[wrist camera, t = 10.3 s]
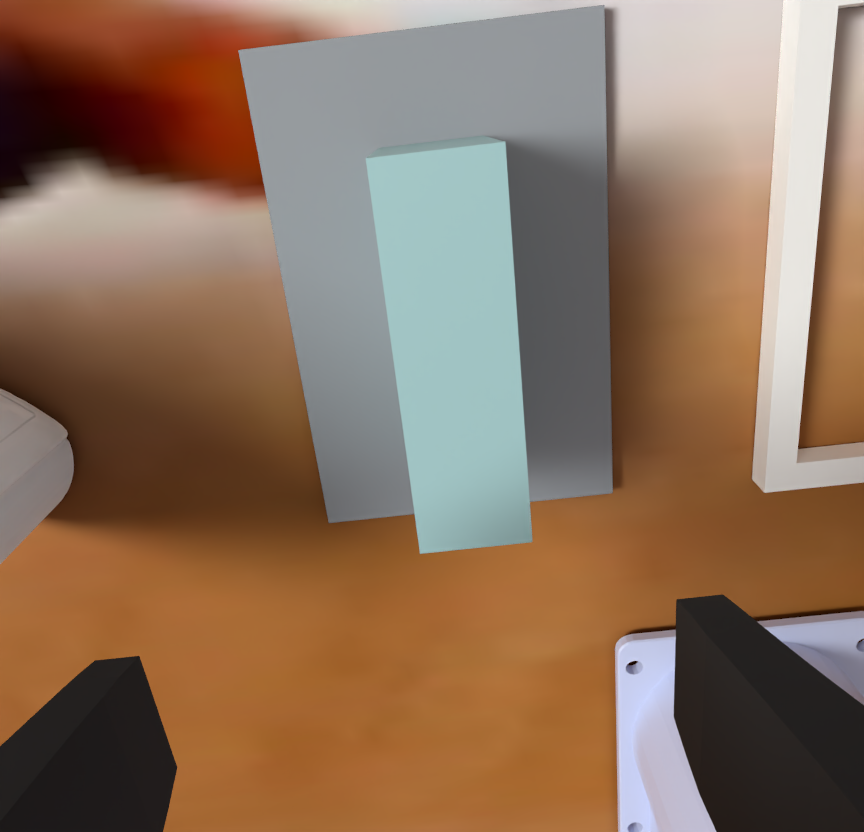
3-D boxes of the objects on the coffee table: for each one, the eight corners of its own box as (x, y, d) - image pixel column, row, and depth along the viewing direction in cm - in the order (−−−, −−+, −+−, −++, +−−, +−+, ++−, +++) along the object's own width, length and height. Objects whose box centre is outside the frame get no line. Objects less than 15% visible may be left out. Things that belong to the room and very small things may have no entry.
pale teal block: (507, 449, 20) (532, 541, 15) (419, 459, 20) (420, 553, 15) (483, 135, 17) (505, 141, 12) (379, 148, 17) (365, 158, 12)
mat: (610, 487, 20) (612, 493, 20) (330, 517, 21) (328, 523, 20) (601, 6, 16) (603, 5, 16) (241, 51, 16) (238, 50, 16)
